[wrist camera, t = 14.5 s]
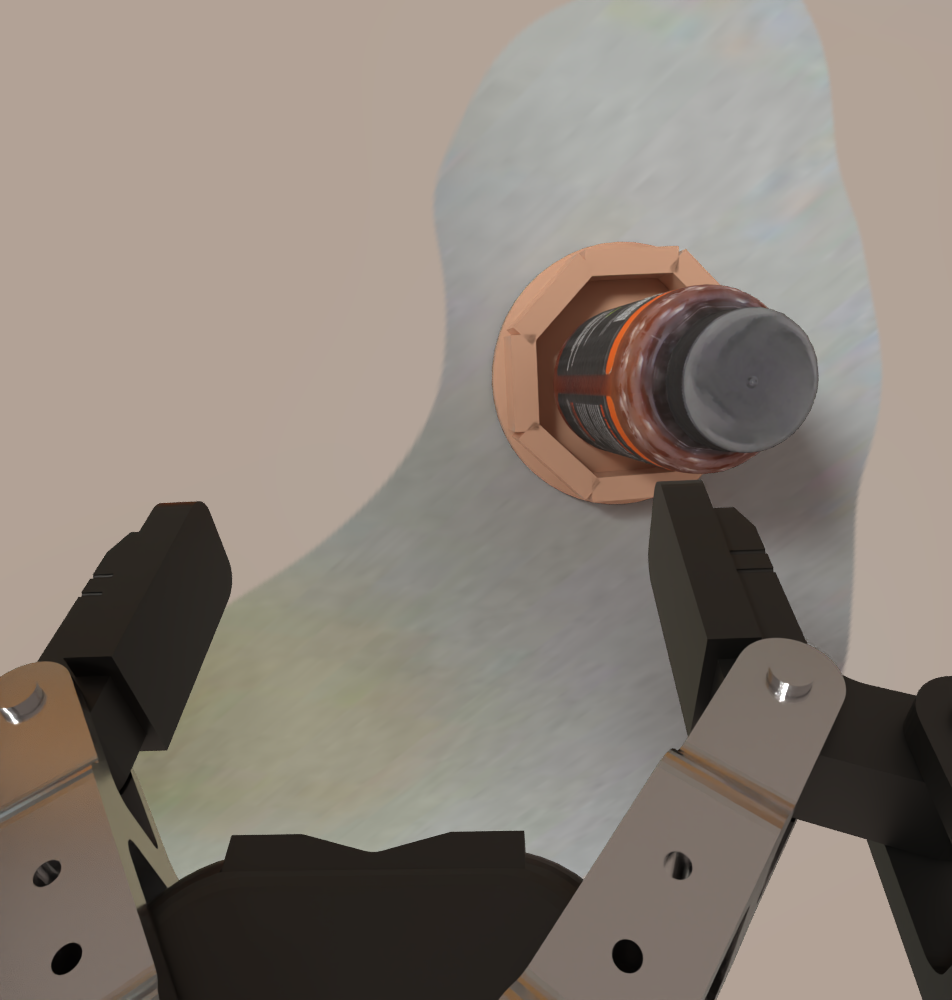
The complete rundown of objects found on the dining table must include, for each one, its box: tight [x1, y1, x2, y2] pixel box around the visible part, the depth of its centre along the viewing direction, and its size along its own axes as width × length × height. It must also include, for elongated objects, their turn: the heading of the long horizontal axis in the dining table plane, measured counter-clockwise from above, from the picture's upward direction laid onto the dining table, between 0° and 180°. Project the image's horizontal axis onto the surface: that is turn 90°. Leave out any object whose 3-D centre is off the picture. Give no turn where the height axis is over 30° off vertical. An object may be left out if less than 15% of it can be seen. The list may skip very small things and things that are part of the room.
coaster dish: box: [492, 242, 720, 504], centre depth 30 cm, size 11×11×2 cm
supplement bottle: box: [553, 284, 818, 474], centre depth 25 cm, size 6×6×11 cm
